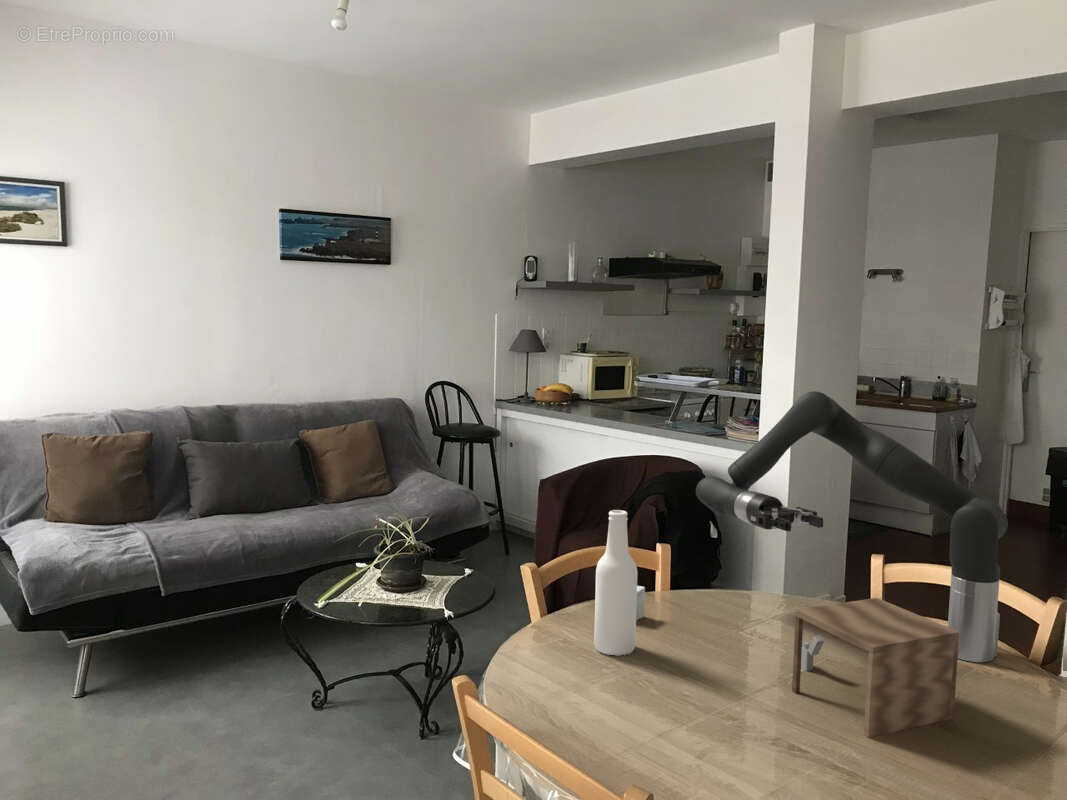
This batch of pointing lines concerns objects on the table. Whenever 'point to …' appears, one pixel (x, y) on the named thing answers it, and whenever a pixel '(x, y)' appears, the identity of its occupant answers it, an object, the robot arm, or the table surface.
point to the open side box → (892, 661)
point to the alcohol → (616, 592)
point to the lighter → (810, 652)
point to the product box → (640, 602)
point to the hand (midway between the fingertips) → (806, 524)
